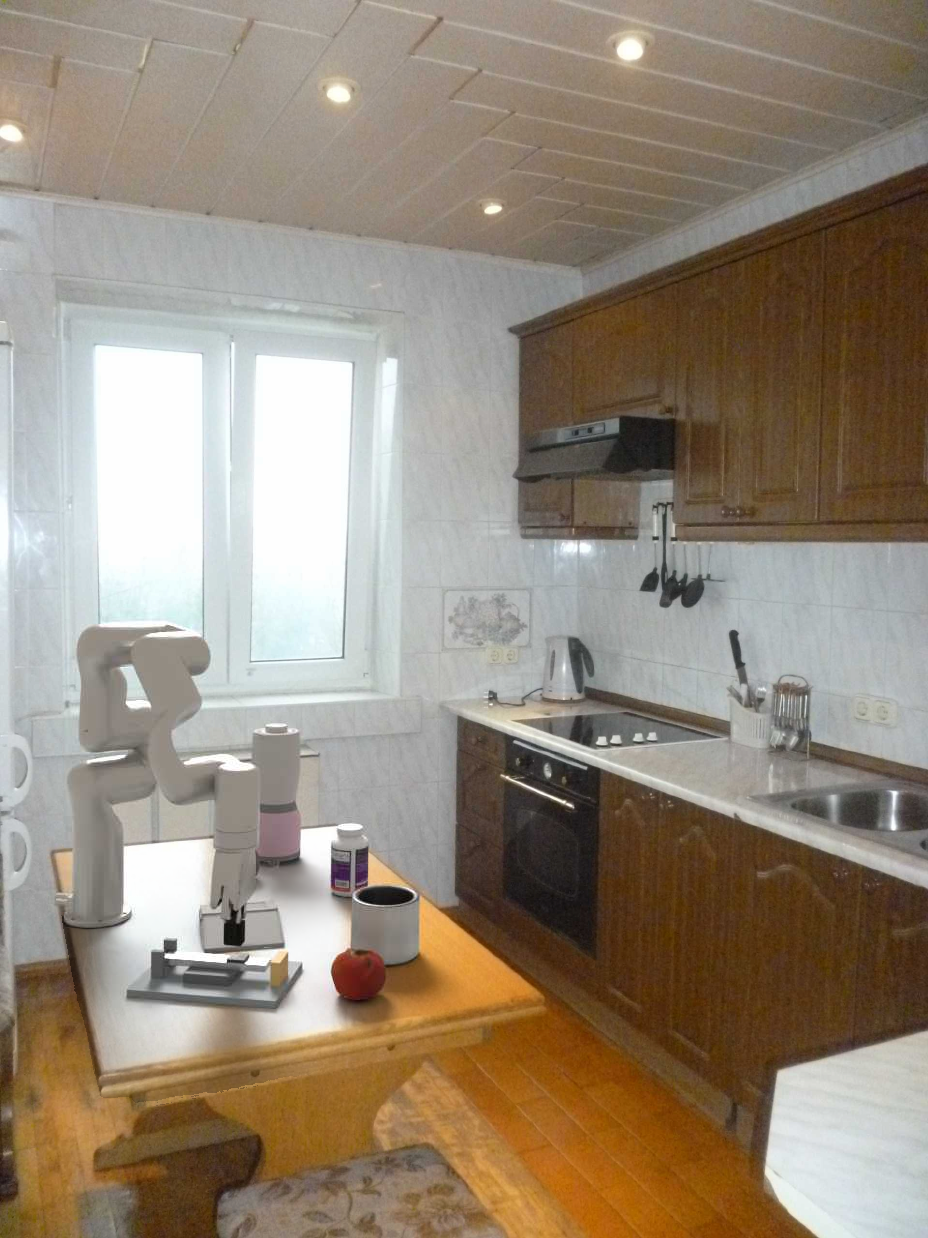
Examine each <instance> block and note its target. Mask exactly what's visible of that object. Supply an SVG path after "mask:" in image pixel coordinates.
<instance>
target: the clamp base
mask: <svg viewBox="0 0 928 1238" xmlns="http://www.w3.org/2000/svg"><path fill="white" fill-rule="evenodd" d="M166 950H171V951H178V938H174V937H173V938H172V937H165V938H164V939H163V949H155V948H154V949H152V950H151V952H150V967H149V968H147V969H146V971H144V972H143V973H142V974H141V975H140V976H139V977H138V978H137V979H136V980H135V981H134V982H133V983H132V984H131V985H130V986H129V987H127V988H126V997H127V998H138V999H148V1000H149V999H150V1000H151V999H152V1000H162V1001H163V1000H165V1001H175V1002H188V1003H201V1004H215V1005H226V1006H239V1007H241V1006H242V1007H249V1008H250V1007H251V1008H252V1007H253V1008H265V1009H277V1007H278V1006H279V1004H280V1002H281V1001H282V999H283V998H284V997H285V995H286V994H287V992H288V990H289V989H290V988H291V986H292V984H293V983H294V982H295V981H296V978H297V977H298V976H299V974H301V972H302V970H303V961H294V960H293V961H292V960H289V950H287V951H286V950H279V951H278V952H277V954H276V955H275V956H274V957H273V958H272V959H271V962H270V967H269V968H268V969H267V971H266V972H252V971H239V970H226V969H213V968H200V967H187V966H174V965H165V951H166Z"/></svg>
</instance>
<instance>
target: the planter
mask: <svg viewBox="0 0 928 1238" xmlns="http://www.w3.org/2000/svg"><path fill="white" fill-rule="evenodd" d="M420 898H421V896H420V893H419V892H418V891H417V890H416V889H414V888H411V887H408V886H403V885H398V884H373V885H368V886H367V887H363V888H361V889H358V890H356V891H355V892H354V893H353V895H352V897H351V920H350V923H351V924H350V944H349V945H350V947H349V948H352V949H368V950H371V951H373V952H375V953H376V954H378V955H379V956H381V957H382V959H383V961H384V965H385V967H391V966H399V965H402V964H405V963H408V962H409V961H411V960H413V959H414V958H415V957H417V956H418V955H419V950H420V911H421V910H420V905H421V903H420V902H421V901H420V900H421V899H420Z"/></svg>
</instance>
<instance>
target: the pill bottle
mask: <svg viewBox="0 0 928 1238" xmlns="http://www.w3.org/2000/svg"><path fill="white" fill-rule="evenodd" d="M363 832H364V827H363V825H362V824H358V823H352V822H350V823H342V824H339V825H337V826H336V834H337V835H336V836H334V837H333V838H332V840H331V843H330V891H331V892H332V893H333V894H334V895H335V896H339V897H344V898H352V895H353V893H354V892H355V891H356V890H358V889H361V888H363V887H367V886H369V849H370V848H369V840H368V837H366V836H364V835H363Z"/></svg>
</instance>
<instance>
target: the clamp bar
mask: <svg viewBox="0 0 928 1238" xmlns="http://www.w3.org/2000/svg"><path fill="white" fill-rule="evenodd" d="M250 955H251V954H250V953H249V952H248V953H246V952H235V951H234V952H233V951H232V952H231V953H230V955H229V954H228V955H227V954H216V953H215V954H214V953H205V952H188V951H178V950H177V951H171V950H166V951H165V965H174V966H187V967H200V968H213V969H226V970H239V971H252V972H266V971H267V969H268V968H269V967H270V962H271V960H272V959H271V958H270V957H269V958H268V957H267V958H266V957H255V956H250Z"/></svg>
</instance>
